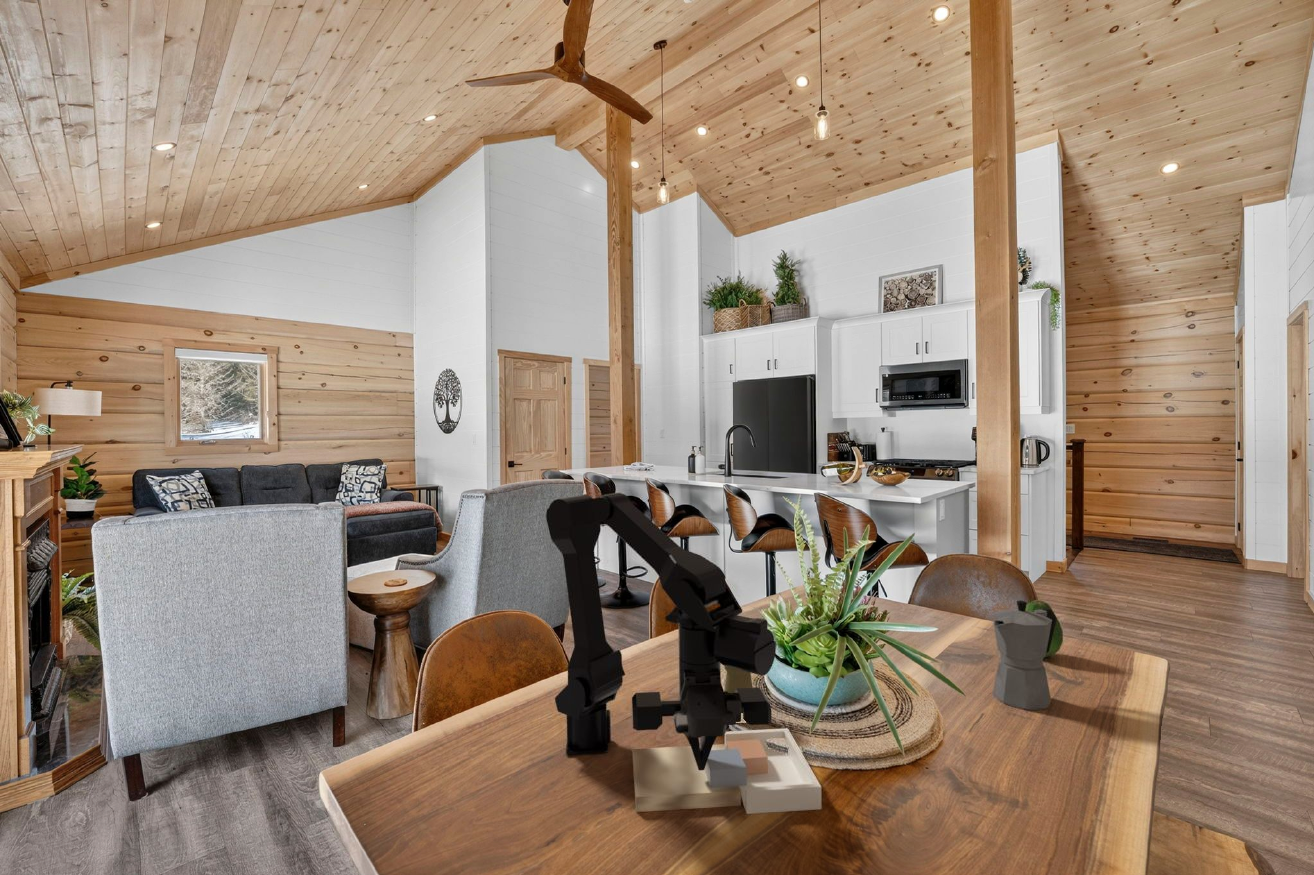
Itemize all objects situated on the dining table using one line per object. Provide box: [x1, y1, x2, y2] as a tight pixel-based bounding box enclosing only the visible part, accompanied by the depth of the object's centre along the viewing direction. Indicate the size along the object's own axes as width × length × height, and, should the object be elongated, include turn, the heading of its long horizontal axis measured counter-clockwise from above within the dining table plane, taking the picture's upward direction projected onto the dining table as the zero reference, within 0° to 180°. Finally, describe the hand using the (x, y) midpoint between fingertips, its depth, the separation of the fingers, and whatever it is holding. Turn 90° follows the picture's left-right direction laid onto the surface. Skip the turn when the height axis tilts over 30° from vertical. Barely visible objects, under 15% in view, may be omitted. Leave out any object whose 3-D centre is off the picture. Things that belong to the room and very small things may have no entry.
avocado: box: [1025, 599, 1064, 658], centre depth 133 cm, size 8×8×12 cm
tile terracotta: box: [727, 739, 768, 775], centre depth 92 cm, size 5×5×2 cm
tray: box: [724, 727, 822, 815], centre depth 90 cm, size 10×16×3 cm, turn 4°
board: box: [632, 743, 742, 813], centre depth 89 cm, size 14×12×2 cm
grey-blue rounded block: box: [704, 749, 747, 788], centre depth 87 cm, size 5×5×2 cm
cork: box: [723, 665, 754, 693], centre depth 109 cm, size 6×6×11 cm
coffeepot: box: [991, 599, 1058, 711], centre depth 113 cm, size 15×9×18 cm, turn 113°
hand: (700, 768), depth 86 cm, fingers closed
